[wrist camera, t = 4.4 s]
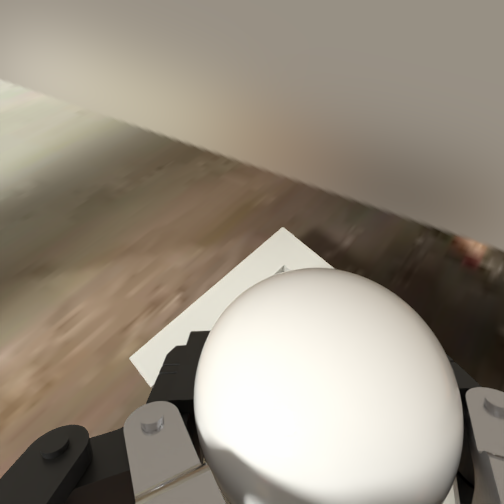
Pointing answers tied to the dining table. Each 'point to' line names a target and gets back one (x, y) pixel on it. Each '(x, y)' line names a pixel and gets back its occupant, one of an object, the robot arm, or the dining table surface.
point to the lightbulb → (327, 396)
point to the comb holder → (229, 301)
